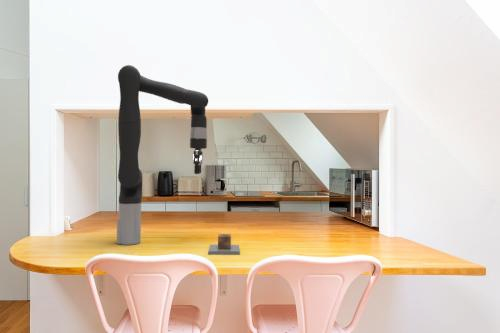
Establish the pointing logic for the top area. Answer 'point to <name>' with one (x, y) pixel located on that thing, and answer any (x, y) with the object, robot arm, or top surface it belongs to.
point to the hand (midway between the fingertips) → (197, 173)
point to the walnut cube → (224, 241)
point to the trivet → (224, 250)
